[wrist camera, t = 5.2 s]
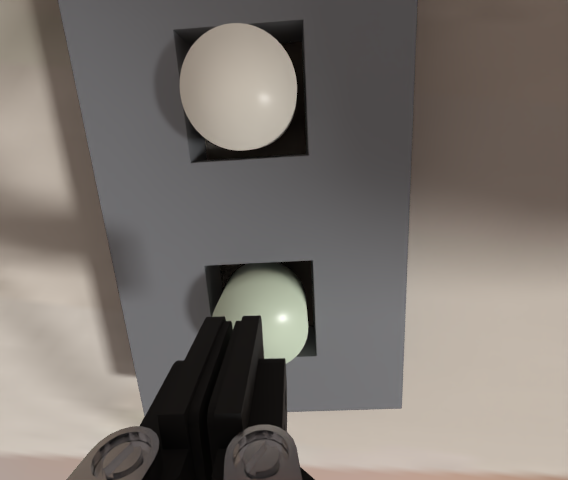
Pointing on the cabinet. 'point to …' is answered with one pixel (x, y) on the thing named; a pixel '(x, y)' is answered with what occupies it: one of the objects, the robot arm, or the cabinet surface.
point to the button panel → (256, 184)
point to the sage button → (268, 306)
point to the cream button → (238, 87)
